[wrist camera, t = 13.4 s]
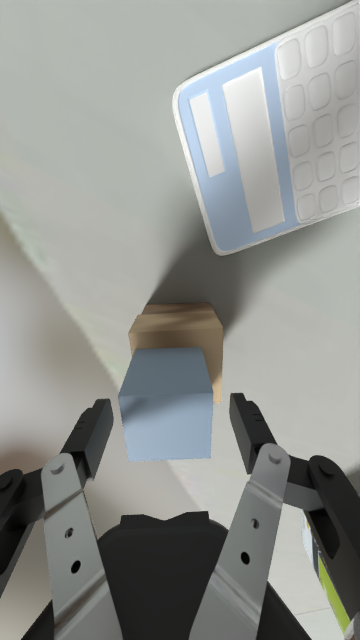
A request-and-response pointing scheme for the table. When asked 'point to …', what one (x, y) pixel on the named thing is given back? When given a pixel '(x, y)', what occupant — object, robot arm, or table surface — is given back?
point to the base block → (176, 308)
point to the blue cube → (167, 405)
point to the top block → (183, 338)
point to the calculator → (276, 132)
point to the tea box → (324, 575)
